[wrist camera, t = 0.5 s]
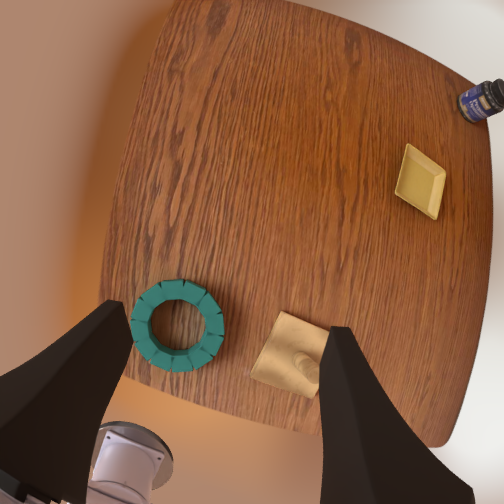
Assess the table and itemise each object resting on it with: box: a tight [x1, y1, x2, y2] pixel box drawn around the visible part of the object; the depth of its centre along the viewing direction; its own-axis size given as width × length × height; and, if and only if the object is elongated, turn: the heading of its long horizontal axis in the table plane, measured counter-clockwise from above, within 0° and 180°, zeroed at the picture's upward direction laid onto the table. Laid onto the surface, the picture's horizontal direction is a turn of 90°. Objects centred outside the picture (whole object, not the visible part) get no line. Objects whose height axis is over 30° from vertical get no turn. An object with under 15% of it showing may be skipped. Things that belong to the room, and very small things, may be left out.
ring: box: [130, 279, 225, 372], centre depth 34 cm, size 10×10×2 cm
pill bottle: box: [457, 79, 504, 123], centre depth 39 cm, size 6×6×11 cm
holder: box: [250, 311, 329, 399], centre depth 34 cm, size 9×9×7 cm
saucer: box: [395, 144, 446, 220], centre depth 40 cm, size 9×9×2 cm
